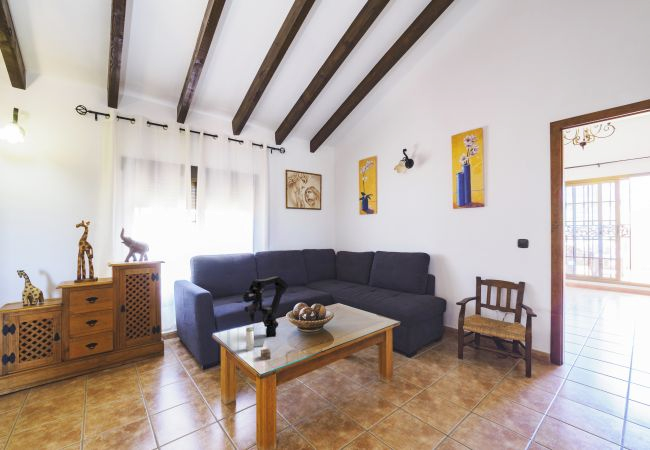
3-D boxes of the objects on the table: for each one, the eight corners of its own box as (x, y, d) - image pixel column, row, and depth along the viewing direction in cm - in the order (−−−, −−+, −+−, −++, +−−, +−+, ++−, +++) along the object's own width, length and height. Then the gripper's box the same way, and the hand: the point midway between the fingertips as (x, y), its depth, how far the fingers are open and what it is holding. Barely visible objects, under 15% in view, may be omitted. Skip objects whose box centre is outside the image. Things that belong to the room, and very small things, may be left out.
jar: (254, 347, 176) (254, 327, 176) (253, 350, 171) (253, 329, 171) (247, 348, 175) (246, 327, 175) (245, 351, 171) (245, 330, 171)
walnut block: (269, 355, 165) (269, 348, 166) (270, 358, 161) (270, 352, 161) (260, 356, 164) (260, 349, 164) (261, 360, 159) (261, 353, 159)
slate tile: (264, 340, 187) (264, 339, 187) (262, 346, 177) (262, 345, 177) (249, 341, 186) (249, 339, 186) (247, 347, 176) (246, 346, 176)
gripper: (238, 300, 182) (239, 324, 182) (262, 303, 174) (262, 328, 174) (249, 296, 192) (249, 319, 192) (272, 298, 185) (272, 322, 185)
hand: (258, 322), depth 185 cm, fingers open, 9 cm apart
